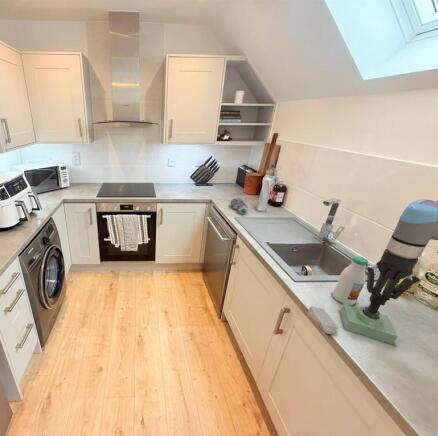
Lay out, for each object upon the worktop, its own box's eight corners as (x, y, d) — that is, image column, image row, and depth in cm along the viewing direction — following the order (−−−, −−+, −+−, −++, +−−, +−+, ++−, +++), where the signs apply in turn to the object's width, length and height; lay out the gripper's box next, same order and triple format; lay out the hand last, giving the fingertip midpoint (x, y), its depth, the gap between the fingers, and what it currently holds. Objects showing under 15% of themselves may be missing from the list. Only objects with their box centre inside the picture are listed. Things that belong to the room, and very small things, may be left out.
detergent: (228, 204, 204) (233, 214, 181) (230, 196, 201) (235, 206, 178) (244, 206, 203) (251, 217, 180) (246, 198, 200) (253, 208, 177)
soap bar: (329, 338, 85) (342, 332, 82) (313, 335, 85) (326, 328, 81) (317, 312, 93) (328, 305, 89) (303, 309, 92) (313, 302, 88)
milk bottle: (336, 303, 97) (353, 262, 89) (329, 290, 104) (344, 252, 96) (358, 307, 95) (378, 266, 87) (350, 294, 102) (367, 255, 94)
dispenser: (383, 323, 87) (389, 311, 85) (392, 344, 79) (400, 331, 77) (340, 310, 93) (345, 299, 91) (345, 329, 85) (350, 316, 83)
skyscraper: (255, 207, 198) (261, 174, 187) (265, 208, 196) (273, 175, 185) (256, 211, 191) (263, 177, 179) (267, 212, 188) (274, 177, 177)
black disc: (375, 313, 85) (378, 308, 84) (379, 321, 82) (381, 316, 81) (361, 309, 87) (363, 305, 86) (364, 316, 83) (366, 312, 83)
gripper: (425, 252, 74) (393, 309, 83) (371, 242, 80) (347, 297, 89) (437, 264, 68) (401, 324, 77) (378, 253, 73) (351, 310, 83)
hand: (372, 309), depth 83 cm, fingers closed
